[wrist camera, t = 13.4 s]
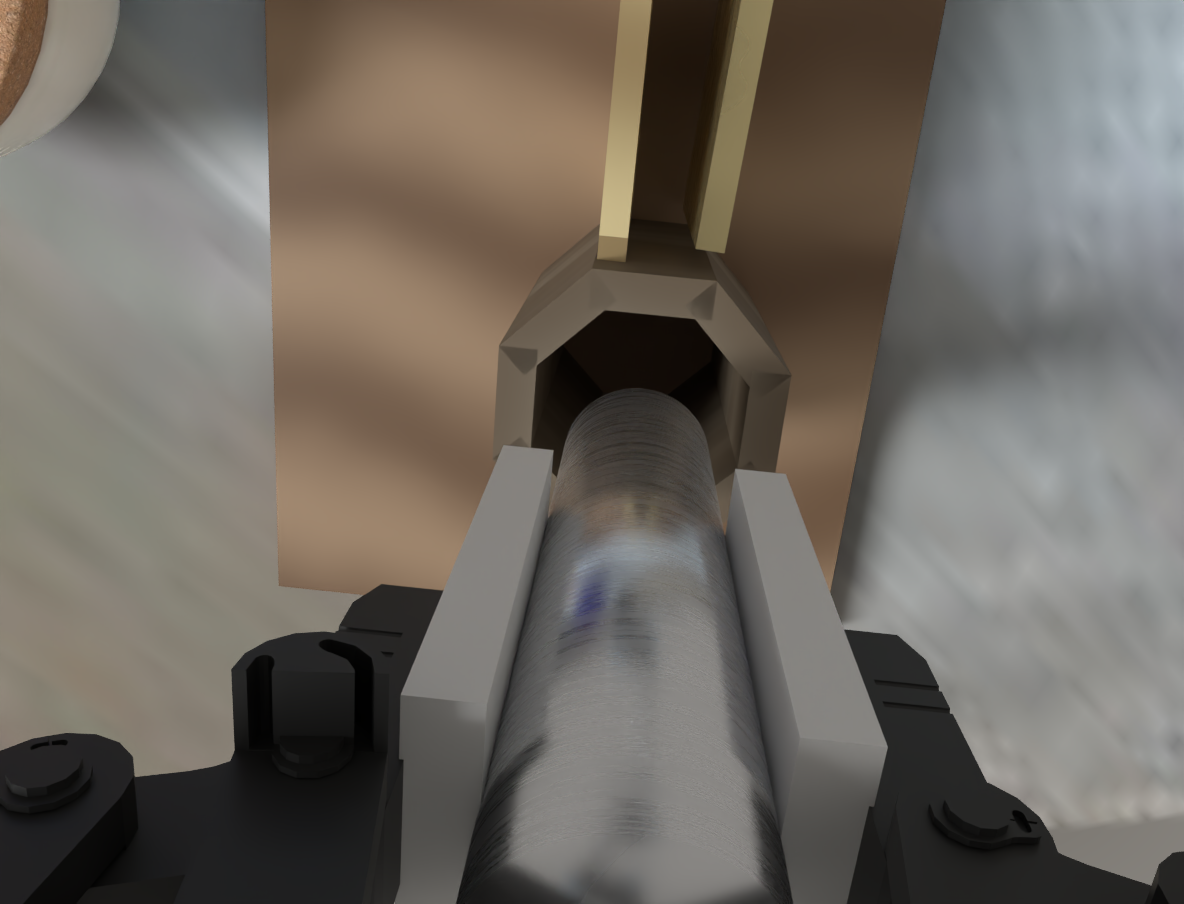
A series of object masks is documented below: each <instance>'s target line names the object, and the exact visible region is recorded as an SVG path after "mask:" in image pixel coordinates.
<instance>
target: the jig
mask: <svg viewBox="0 0 1184 904" xmlns="http://www.w3.org/2000/svg"><path fill="white" fill-rule="evenodd" d="M718 3H719V0H265V23H266V65H267V107H268V150H269V192H270V234H271V276H272V318H273V361H274V403H275V445H276V487H277V530H278V572H279V586H284V587H294V588H303V589H313V590H322V591H332V592H341V593H351V594H360V595H365V594H367V593H368V592H370V591H371V590H373V589H374V588H376V587H377V586H379V585H381V584H387V585H396V586H406V587H415V588H425V589H434V590H444V588H445V586H446V583H447V581H448V579H449V576H450V574H451V571H452V569H453V566H454V564H455V562H456V559H457V557H458V554H459V552H460V549H461V547H462V545H463V542H464V540H465V537H466V535H467V532H468V530H469V528H470V525H471V523H472V520H473V518H474V515H475V513H476V511H477V508H478V506H479V503H480V501H481V498H482V496H483V493H484V491H485V489H486V486H487V484H488V481H489V479H490V476H491V474H492V472H493V469H494V467H495V464H496V462H497V459H498V457H499V455H500V452H501V450H502V447H503V445H507V446H517V447H527V448H536V449H546V450H554V451H553V463H552V475H551V488H550V500H549V509H550V505H551V500H552V496H553V492H554V488H555V484H556V479H557V475H558V471H559V467H560V462H561V458H562V454H563V450H564V446H565V441H566V438H567V435H568V432H569V430H570V428H571V426H572V424H573V422H574V421H575V419H576V418H577V416H578V415H579V414H580V413H581V412H582V411H583V410H584V409H585V408H586V407H587V406H588V405H589V404H590V403H592V402H593V401H595V400H596V399H598V398H600V397H602V396H604V395H606V394H608V393H611V392H614V391H618V390H623V389H631V388H642V389H649V390H655V391H658V392H661V393H664V394H666V395H668V396H671V397H673V398H674V399H676V400H677V401H679V402H681V403H682V404H683V405H684V406H685V407H687V408H688V409H689V410H690V411H691V412H692V414H693V415H694V416H695V417H696V419H697V420H698V422H699V423H700V425H701V427H702V429H703V431H704V434H705V436H706V439H707V444H708V449H709V454H710V460H711V465H712V470H713V476H714V481H715V486H716V492H717V497H718V503H719V508H720V513H721V519H722V524H723V529H724V535H725V534H726V527H727V520H728V514H729V507H730V500H731V494H732V487H733V480H734V474H735V469H742V470H752V471H761V472H771V473H781V474H786V476H787V479H788V481H789V484H790V487H791V489H792V492H793V495H794V497H795V500H796V503H797V505H798V508H799V511H800V513H801V516H802V519H803V521H804V524H805V527H806V529H807V532H808V535H809V537H810V540H811V543H812V546H813V548H814V551H815V554H816V556H817V559H818V562H819V564H820V567H821V570H822V572H823V575H824V578H825V580H826V583H827V586H828V588H829V591H830V590H831V585H832V580H833V575H834V570H835V565H836V560H837V555H838V550H839V544H840V539H841V534H842V529H843V524H844V519H845V514H846V509H847V504H848V499H849V493H850V488H851V483H852V478H853V473H854V468H855V463H856V458H857V453H858V447H859V442H860V437H861V432H862V427H863V422H864V417H865V412H866V407H867V402H868V396H869V391H870V386H871V381H872V376H873V371H874V366H875V361H876V356H877V351H878V345H879V340H880V335H881V330H882V325H883V320H884V315H885V310H886V305H887V299H888V294H889V289H890V284H891V279H892V274H893V269H894V264H895V259H896V254H897V248H898V243H899V238H900V233H901V228H902V223H903V218H904V213H905V208H906V202H907V197H908V192H909V187H910V182H911V177H912V172H913V167H914V162H915V157H916V151H917V146H918V141H919V136H920V131H921V126H922V121H923V116H924V111H925V105H926V100H927V95H928V90H929V85H930V80H931V75H932V70H933V65H934V60H935V54H936V49H937V44H938V39H939V34H940V29H941V24H942V19H943V14H944V9H945V3H946V0H774V1H773V6H772V11H771V16H770V21H769V26H768V32H767V37H766V42H765V47H764V52H763V57H762V62H761V68H760V73H759V78H758V83H757V88H756V93H755V99H754V104H753V109H752V114H751V119H750V124H749V129H748V135H747V140H746V145H745V150H744V155H743V160H742V166H741V171H740V176H739V181H738V186H737V191H736V196H735V202H734V207H733V212H732V217H731V222H730V227H729V233H728V238H727V243H726V248H725V253H719V252H712V251H706V250H700V249H695V246H694V243H693V240H692V236H691V233H690V230H689V227H688V224H687V221H686V218H685V215H684V212H683V209H682V207H683V201H684V196H685V190H686V184H687V179H688V173H689V167H690V161H691V156H692V150H693V144H694V139H695V133H696V127H697V122H698V116H699V110H700V105H701V99H702V93H703V88H704V82H705V76H706V71H707V65H708V59H709V54H710V48H711V42H712V37H713V31H714V25H715V20H716V14H717V8H718ZM548 513H549V512H548Z"/></svg>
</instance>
